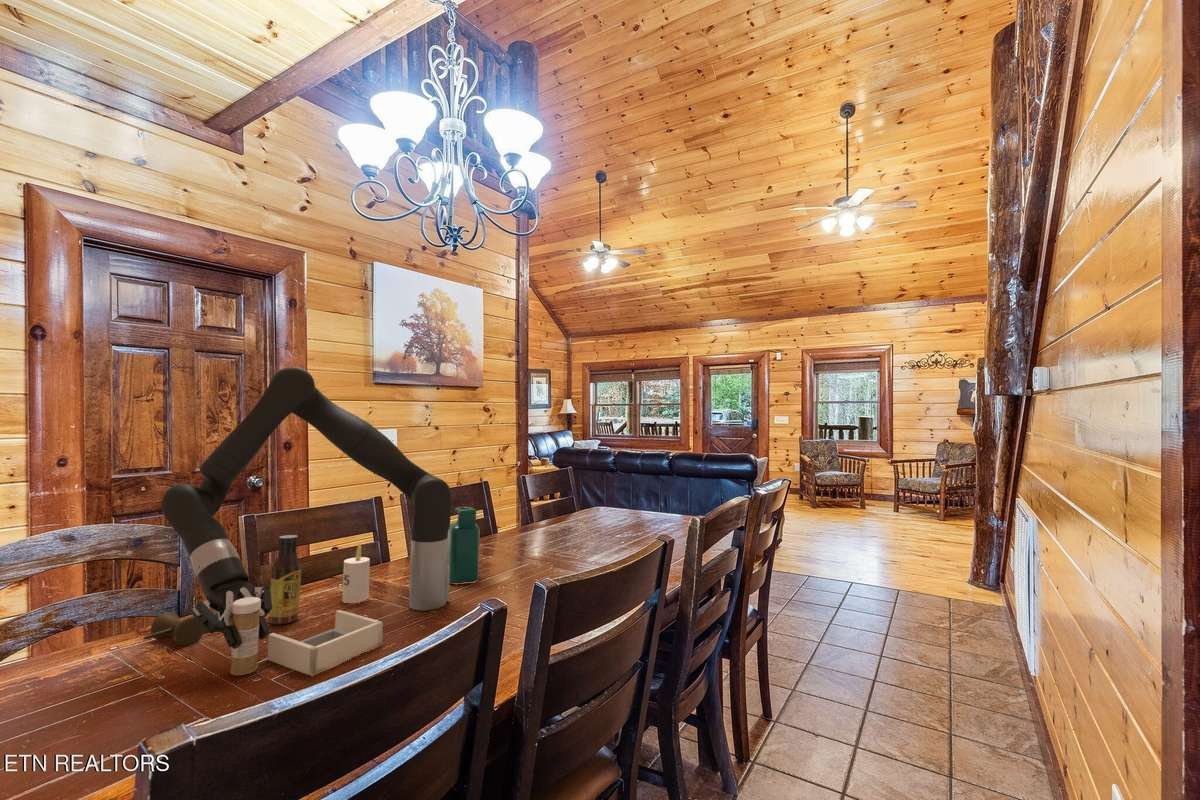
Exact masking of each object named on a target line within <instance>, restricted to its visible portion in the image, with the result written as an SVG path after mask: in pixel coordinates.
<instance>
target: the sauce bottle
mask: <svg viewBox="0 0 1200 800" xmlns="http://www.w3.org/2000/svg"><path fill="white" fill-rule="evenodd" d="M298 542H299V535H297V534H288V535H287V534H286V535H281V536H279V537H278V544H279V545H278V556H277V558H276V560H275V561H274V563H273V564H272V567H271V577H270V585H269V586H270V590H271V600H272V610H271V611H270V612H269V613H268V616H269V618H268V623H270V624H271V625H276V626H279V625H285V624H290V623H293V622H295V621H296V620H297V619H298V618H299V612H300V599H301V598H300V597H301V596H300V595H301V585H302V584H301V582H302V580H301V579H302V568H301V565H300V562H299V558H298V554H297V552H298V551H297V548H298Z"/></svg>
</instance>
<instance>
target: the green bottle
mask: <svg viewBox="0 0 1200 800" xmlns="http://www.w3.org/2000/svg"><path fill="white" fill-rule="evenodd" d="M455 511H456V512H457V521H455V522H450V527H449V530H448V547H447V565H449V566H450V573H449V582H450V583H463V582H473V581H476V580H478V581H479V571H480V570H479V566H480V537H481V536H480V526H479V525H478V524H477V522H476V521H477V509H475V508H473V507H470V506H461V507H456V508H455ZM450 583H449V584H450Z"/></svg>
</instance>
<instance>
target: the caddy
mask: <svg viewBox="0 0 1200 800" xmlns="http://www.w3.org/2000/svg"><path fill="white" fill-rule="evenodd" d="M383 624H384V622H383V621H381V620H377V619H374V618H369V617H367V616H363V615H360V614H356V613H352V612H350V611H349V612H348V611H345V610H341V609H339V610H336V611H335V625H334V628H331V629H329V630H326V631H324V632H320V633H319V634H315V635H313V636H311V637H308V638H305V639H302V640H296V639H294V638H290V637H287V636H284V635H282V634H278V633H275V632H272V633H268V636H267V637H268V640H267V642H268V643H267V660H268V661H270V662H272V663H276V664H278V665H281V666H283V667H286V668H288V669H291V670H294V671H296V672H299V673H302V674H304V675H307V676H309V675H310V677H314V675H315V676H316V674H317V675H319V674H321V673H323V671H324V672H326V671H328V670H330V669H332V668H335V667H337V666H339V665H342V664H344V663H346V662H348V661H350V660H352V659H351V658H352V657H354V656H357V655H359V654H361V653H364V652H366V653H368V652H371V651H372V650H375V649H378V648H380V647H381V646H383V630H384V628H383V626H384V625H383ZM370 650H371V651H370ZM367 651H368V652H367ZM364 654H365V653H364ZM359 656H360V655H359ZM357 657H358V656H357ZM349 659H350V660H349ZM347 660H348V661H347ZM345 661H346V662H345ZM343 662H344V663H343ZM341 663H342V664H341ZM320 672H321V673H320ZM318 673H319V674H318Z"/></svg>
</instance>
